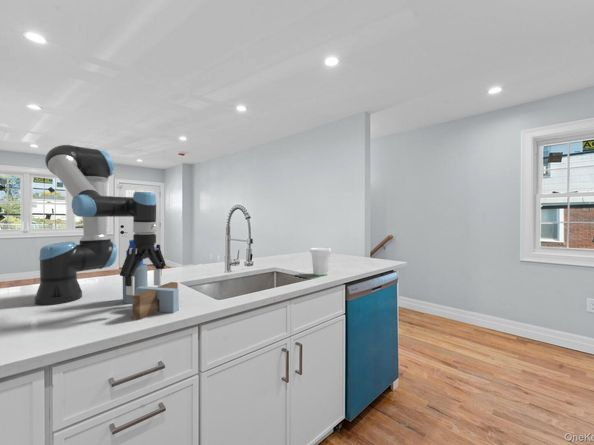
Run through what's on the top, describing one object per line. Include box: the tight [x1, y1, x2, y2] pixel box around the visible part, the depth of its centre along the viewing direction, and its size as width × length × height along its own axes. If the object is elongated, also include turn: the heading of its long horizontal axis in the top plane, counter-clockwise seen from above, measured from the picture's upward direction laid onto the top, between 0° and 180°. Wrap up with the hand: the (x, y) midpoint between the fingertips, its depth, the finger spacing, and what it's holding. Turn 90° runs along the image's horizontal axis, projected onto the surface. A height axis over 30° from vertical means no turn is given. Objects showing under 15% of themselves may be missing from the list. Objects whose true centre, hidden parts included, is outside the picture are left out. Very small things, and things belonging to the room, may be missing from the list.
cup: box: [309, 247, 332, 277], centre depth 172 cm, size 12×12×15 cm
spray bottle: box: [122, 239, 149, 305], centre depth 120 cm, size 9×9×25 cm
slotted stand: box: [131, 281, 179, 320], centre depth 108 cm, size 3×20×8 cm, turn 166°
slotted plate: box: [136, 286, 180, 314], centre depth 108 cm, size 16×3×8 cm, turn 76°
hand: (144, 289), depth 110 cm, fingers open, 13 cm apart
